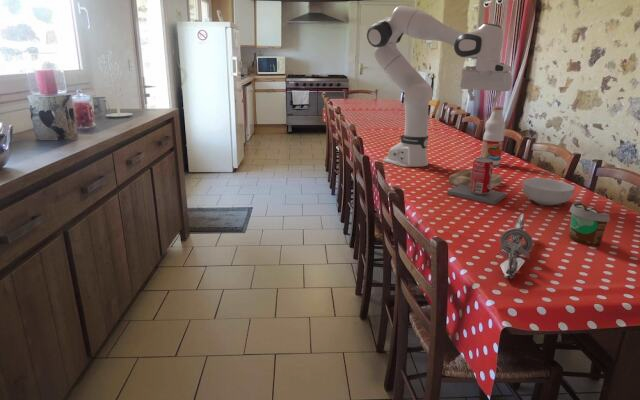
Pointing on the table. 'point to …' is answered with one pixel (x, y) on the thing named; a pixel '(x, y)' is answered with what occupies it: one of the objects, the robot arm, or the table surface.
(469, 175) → the wooden holder
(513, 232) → the spaceship
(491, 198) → the charcoal board
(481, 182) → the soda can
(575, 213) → the food container
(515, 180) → the table surface
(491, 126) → the fruit juice
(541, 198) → the cereal bowl
